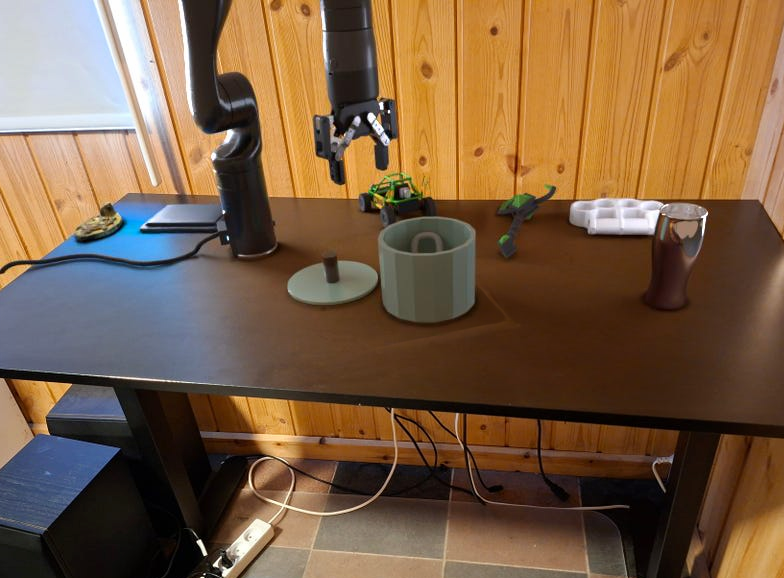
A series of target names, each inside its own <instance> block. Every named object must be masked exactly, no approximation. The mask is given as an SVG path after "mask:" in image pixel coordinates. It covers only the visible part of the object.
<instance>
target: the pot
mask: <svg viewBox="0 0 784 578" xmlns="http://www.w3.org/2000/svg"><path fill="white" fill-rule="evenodd" d="M422 232H433V233H436V234H437V235H439V236H440V238H441V239H442V243H443V251H442V252H436V243H435V241H434V240H433V239H429V238H426V239H422V240H420V241H419V243H418V253H411V243H412V240H413V238H414V237H415V236H416V235H417V234H419V233H422ZM378 234H379V235H378V237H377V248H378V249H377V250H378V260H379V271H380V283H381V284H380V285H381V286H380V287H381V297H382V305H383V306H384V308H385V310H386V311H387V312H388V313H389V314H391V315H392V316H394V317H396V318H398V319H400V320H405V321H409V322H414V323H438V322H439V323H440V322H443V321H448V320H454V319H455V318H458V317H460V316H462V315H465V314H466V313H468V311H470V309H471V308H472V307H473V306H474V305H475V303H476V302H475V301H476V229H475V228H474V227H473V226H472V225H470V224H469V223H468V222H465V221H462V220H460V219H457V218H451V217H445V216H436V217H423V216H418V217H413V218H412V217H411V218H407V219H402V220H399V221H396V223H394V224H391V225H389V226H388V227H386V228H385V227H384V229H382V230H381V231H380V232H379V233H378Z"/></svg>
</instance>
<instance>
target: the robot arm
mask: <svg viewBox="0 0 784 578" xmlns="http://www.w3.org/2000/svg"><path fill="white" fill-rule="evenodd" d="M233 2H234V0H178V6H179V7H178V8H179V13H180V21H181V29H182V35H183V36H182V38H183V48H184V62H185V81H186V82H185V83H186V92H187V93H186V94H187V102H188V106H189V110H190V114H191V117H192V119H193V122H194V124H195V125H196V127H197V128H198V129H199V131H200V132H202V133H203V134H205V135H210V136H211V135H218V134H222V133H225V132H227V134H226V136H225V139H224V140H223V141H222V143H221V144H220V145H219V146H218V147H216V149H215V150H214V151H213V152H212V154H211V158H210V160H211V165H212V170H213V173H214V179H215V182H216V186H217V187H216V188H217V192H218V196H219V201H220V204H221V206H222V211H223V216H224V221H219V222H217V227H218V232H213V233H212V234H210V235H207V236H205V237H204V238H201V240H199V241H198V242H197V243H196V245H195V247H194V249H192V250H191V251H188V252H187V253H185V254H182V255H180V256H176V257H172V258H171V257H170V258H167V259H159V260H158V259H157V260H146V261H145V260H144V261H140V260H133V259H129V258H124V257H118V256H112V255H106V254H101V253H94V252H93V253H90V252H84V253H72V254H66V255H65V254H64V255H59V256H55V257H49V258H43V259H20V260H13V261H9V262H8V263H5V264H4V265H3V266H2V267H0V275H4V274H6V272H8V270H9V269H11V268H13V267H18V266H27V265H28V266H30V265H31V266H32V265H34V266H35V265H36V266H37V265H45V264H53V263H58V262H63V261H69V260H76V259H77V260H78V259H97V260H104V261H109V262H114V263H120V264H121V263H122V264H125V265H130V266H134V267H135V266H136V267H153V266H154V267H155V266H164V265H170V264H173V263H177V262H179V261H184V260H186V259H189V258H191V257H193V256H195V255H197V254H198V253H199V252H200V250H201V248H202V247H203V246H204V245H205V244H207V243H209V242H210V241H213V240H215V239H216V238H219V242H220V245H221V246H227V245H229V247H230V252H231V256H232V258H233V259H236V258H241V259H253V258H259V257H260V258H261V257H263V256H267V255H269V254H271V253H273V252H274V251H275V250H277V248H278V241H277V237H276V231H275V227H276V222H275V220H273V219H274V218H273V214H272V208H271V203H270V198H269V191H268V187H267V186H268V185H267V181H266V174H265V169H264V164H263V163H264V162H263V158H262V157H263V156H262V154H263V147H264V145H263V136H262V128H261V119H260V112H259V104H258V100H257V96H256V93H255V89H254V87H253V85H252V83H251V81H250V79H248V77H247V76H246V75H245V74H243V73H242V72H240V71H227V72H224V73H218V49H219V44H220V40H221V37H222V33H223V30H224V27H225V25H226V22H227V20H228V17H229V15H230V12H231V9H232V5H233ZM319 8H320V9H319V10H320V18H321V29H322V54H323V63H324V73H325V82H326V90H327V91H326V92H327V99H328V101H329V103H330V112H329V114H324V115H323V114H322V115H321V114H314V115H313V117H312V128H313V137H314V138H313V141H314V153H315V156H316V157H317V158H321V159H323V160H326V161H328V167H329V168H328V169H329V176H330V177H329V178H330V180H331V181H332V182H333V183H334V184H335V185H337V186H343V185H345V184H346V176H345V175H346V174H345V164H344V160H343V156H344V155H345V152H346V149H347V148H348V147H350V145H351V142H352V141H355V140H358V139H359V138H361V137H370V139H371V140H372V141H373V142H374V143H375V144H374V145H373V152H374V165H375V169H376V170H377V171H378V170H379V171H383V172H385V171H387V170H388V169H389V168H388V167H389V164H390V154H389V145H390V143H391V142H392V141H393V140H397V139H398V137H399V129H398V128H399V127H398V119H397V108H396V100H394V99H393V98H388V97H383V96H382V97H380V98H379V96H380V81H379V65H378V64H379V63H378V51H377V40H376V36H375V31H374V30H375V29H374V20H373V19H374V16H373V5H372V0H319ZM378 98H379V100H378ZM379 115H380V122H379V121H378V120H377V119H378V117H379ZM332 125H333V126H332ZM332 129H333V130H332ZM331 130H332V131H331Z"/></svg>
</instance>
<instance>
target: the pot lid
mask: <svg viewBox="0 0 784 578" xmlns="http://www.w3.org/2000/svg"><path fill="white" fill-rule="evenodd" d="M321 258H322V262H320V263H315V264H312V265H309V266H307V267H304V268H302V269H300V270H298V271H296V272H295V273H294V274H293V275H292V276H291V277H290V278H289V279H288V281H287V292H288V294H289V295H290V297H292V298H293V299H294V300H296V301H298V302H300V303H303V304H307V305H313V306H337V305H342V304H347V303H351V302H354V301H357V300H360V299H362V298H364V297H366V296H368V295H369V294H371V292H373V291H374V290H375V289H376V287H377V286H378V283H379V275H378V273H377V271H376V270H375V269H374V268H373V267H372V266H370V265H369V264H366V263H362V262H359V261H354V260H353V261H352V260H339V259H338V254H337V252H336V251H325V252H324V253H322V254H321Z"/></svg>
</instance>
